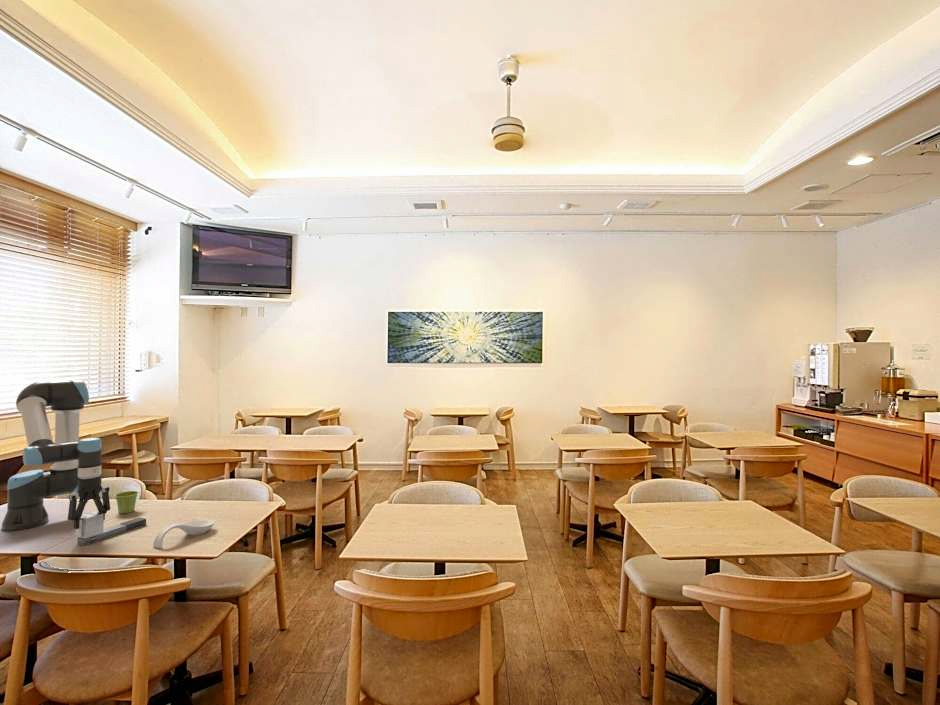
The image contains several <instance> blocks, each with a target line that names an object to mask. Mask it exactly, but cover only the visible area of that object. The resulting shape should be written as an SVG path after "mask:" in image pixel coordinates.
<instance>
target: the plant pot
mask: <svg viewBox="0 0 940 705" xmlns="http://www.w3.org/2000/svg"><path fill="white" fill-rule="evenodd" d="M138 494H139V491H138V490H129V491H123V492H122V491H121V492H119V493H115V494H114V497H115V500H116V505H117V509H118V513H119V514H126V513H127V514H129V513H132V512H134V511H135V507H136V503H137V497H138Z"/></svg>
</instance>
